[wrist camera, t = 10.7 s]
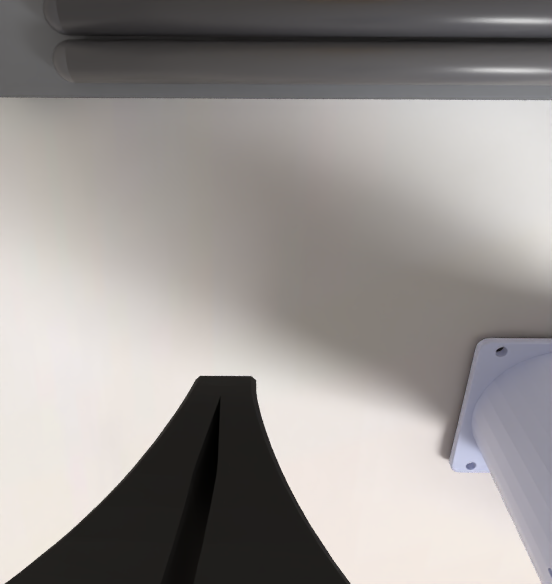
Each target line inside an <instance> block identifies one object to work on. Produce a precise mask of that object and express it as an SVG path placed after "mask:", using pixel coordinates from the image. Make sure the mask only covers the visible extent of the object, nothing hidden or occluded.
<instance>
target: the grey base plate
mask: <svg viewBox="0 0 552 584" xmlns="http://www.w3.org/2000/svg"><path fill="white" fill-rule="evenodd" d="M0 97H47V98H243V99H438V100H552V0H0Z"/></svg>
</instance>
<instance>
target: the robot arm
mask: <svg viewBox="0 0 552 584" xmlns="http://www.w3.org/2000/svg"><path fill="white" fill-rule="evenodd" d="M500 347H504V348H503V349H502V350H501V351H498V352H496V350H497V349H498V348H500ZM470 462H471V463H470ZM449 464H450V466H451V468H452V470H454V471H455V472H490V473H491V475H492V478H493V480H494V482H495V484H496V486H497V488H498V490H499V493H500V495H501V497H502V499H503V501H504V503H505V505H506V508H507V510H508V512H509V514H510V516H511V518H512V521H513V523H514V525H515V527H516V529H517V531H518V533H519V536H520V538H521V540H522V542H523V544H524V546H525V549H526V551H527V553H528V555H529V557H530V559H531V561H532V564H533V566H534V568H535V570H536V572H537V574H538V577H539V579H540V581H541V583H542V584H552V338H486V339H483V340H481V341H480V342H479V343H478V344H477V346H476V349H475V353H474V358H473V362H472V366H471V370H470V375H469V379H468V383H467V387H466V392H465V396H464V400H463V404H462V408H461V413H460V417H459V421H458V425H457V430H456V434H455V438H454V442H453V447H452V451H451V455H450V459H449ZM5 584H350V582H349V581H348V580H347V578H346V577H345V575H344V574H343V573H342V571H341V570H340V569H339V567H338V566H337V565H336V563H335V562H334V560H333V559H332V557H331V556H330V554H329V553H328V551H327V550H326V548H325V547H324V545H323V544H322V542H321V541H320V539H319V538H318V536H317V534H316V533H315V531H314V530H313V528H312V527H311V525H310V524H309V522H308V520H307V518H306V517H305V515H304V513H303V511H302V510H301V508H300V506H299V504H298V503H297V501H296V499H295V497H294V495H293V493H292V491H291V489H290V487H289V485H288V483H287V481H286V479H285V477H284V475H283V473H282V471H281V468H280V466H279V464H278V461H277V459H276V457H275V454H274V452H273V449H272V447H271V444H270V441H269V438H268V436H267V433H266V430H265V427H264V424H263V420H262V417H261V413H260V409H259V405H258V400H257V394H256V380H255V379H254V378H253V377H252V376H200V377H198V378H197V379H196V380H195V382H194V384H193V386H192V387H191V389H190V391H189V392H188V394H187V396H186V397H185V399H184V401H183V402H182V404H181V405H180V407H179V408H178V410H177V411H176V413H175V414H174V416H173V417H172V418H171V420H170V421H169V423H168V424H167V425H166V427H165V428H164V430H163V431H162V432H161V434H160V435H159V436H158V438H157V439H156V440H155V442H154V443H153V444H152V445H151V447H150V448H149V449H148V450H147V452H146V453H145V454H144V455H143V456H142V458H141V459H140V460H139V461H138V463H137V464H136V465H135V466H134V467H133V469H132V470H131V471H130V472H129V473H128V474H127V475H126V476H125V478H124V479H123V480H122V481H121V482H120V483H119V484H118V485H117V486H116V487H115V488H114V489H113V490H112V491H111V493H110V494H109V495H108V496H107V497H106V498H105V499H104V500H103V501H102V502H101V503H100V504H99V505H98V506H97V507H96V508H94V509H93V510H92V511H91V512H90V513H89V514H88V515H87V516H86V517H85V518H84V519H83V520H82V521H81V522H80V523H79V524H78V525H76V526H75V527H74V528H73V529H72V530H71V531H70V532H69V533H68V534H66V535H65V536H64V537H63V538H62V539H61V540H59V541H58V542H57V543H56V544H54V545H53V546H52V547H51V548H50V549H48V550H47V551H46V552H45V553H43V554H42V555H41V556H40V557H38V558H37V559H36V560H35V561H33V562H32V563H31V564H30V565H29V566H27V567H26V568H25V569H24V570H22V571H21V572H20V573H18V574H17V575H16V576H15V577H13V578H12V579H11V580H9V581H8V582H7V583H5Z"/></svg>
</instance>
